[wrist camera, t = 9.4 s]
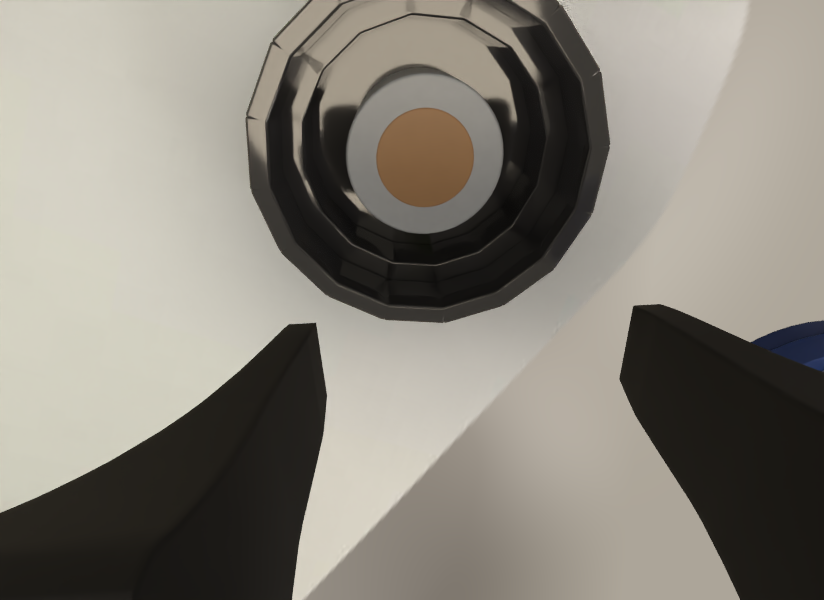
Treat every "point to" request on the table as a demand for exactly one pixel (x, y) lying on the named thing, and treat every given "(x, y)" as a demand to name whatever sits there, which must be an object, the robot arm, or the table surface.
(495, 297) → the bowl
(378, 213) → the tape
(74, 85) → the table surface
